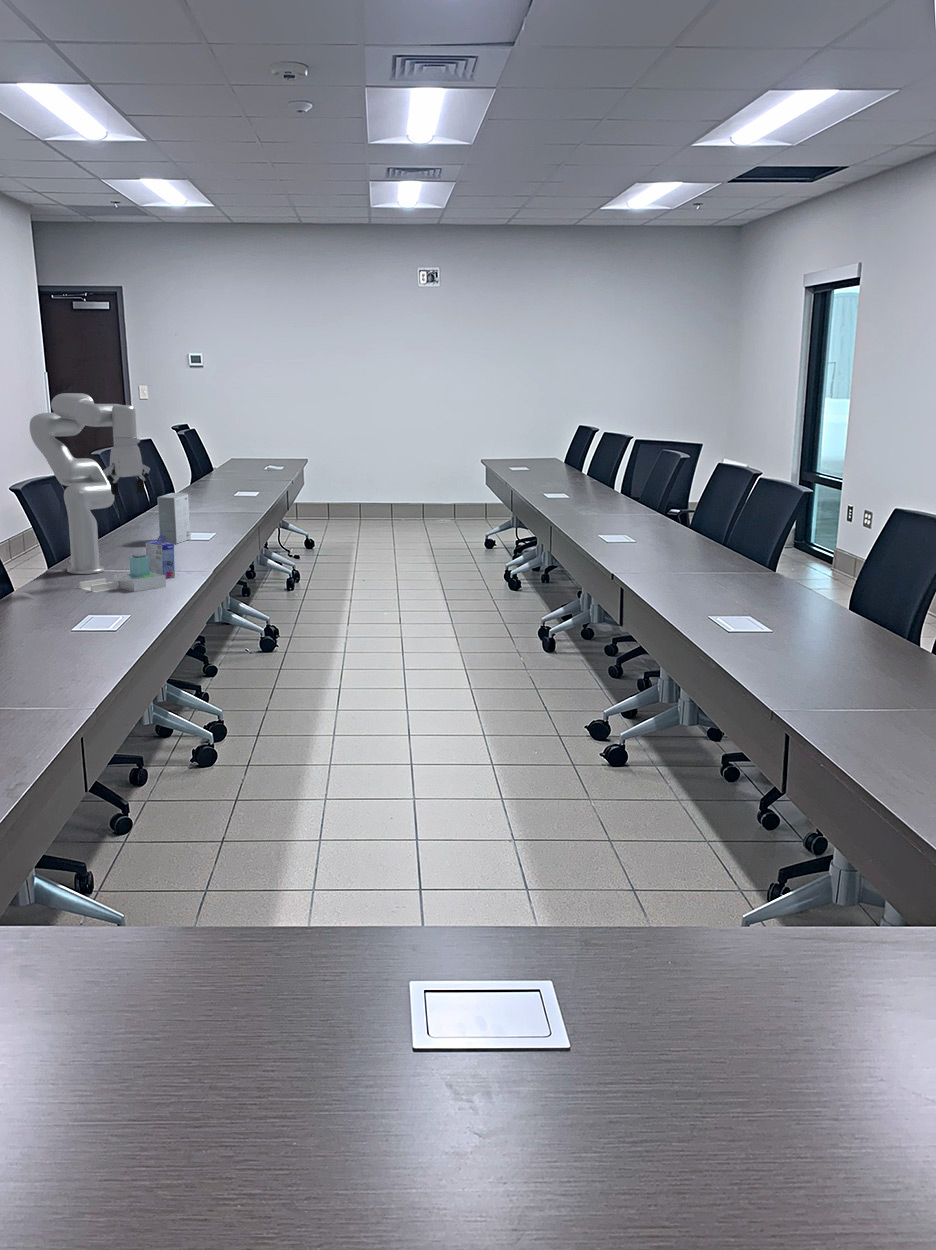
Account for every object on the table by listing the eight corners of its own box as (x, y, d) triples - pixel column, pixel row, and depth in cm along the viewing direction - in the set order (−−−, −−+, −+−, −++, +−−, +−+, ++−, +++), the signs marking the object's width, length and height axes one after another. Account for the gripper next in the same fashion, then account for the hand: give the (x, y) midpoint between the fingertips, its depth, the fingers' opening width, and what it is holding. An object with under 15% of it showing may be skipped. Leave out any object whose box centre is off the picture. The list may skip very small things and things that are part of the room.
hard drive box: (174, 538, 457) (172, 492, 452) (191, 539, 456) (189, 493, 451) (159, 543, 442) (157, 496, 437) (176, 544, 441) (174, 497, 436)
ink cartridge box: (176, 577, 372) (174, 536, 369) (163, 579, 368) (161, 538, 365) (158, 573, 378) (157, 533, 375) (145, 575, 374) (143, 535, 370)
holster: (78, 590, 346) (77, 581, 346) (103, 586, 353) (102, 578, 352) (94, 595, 340) (94, 586, 339) (119, 591, 347) (118, 582, 346)
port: (114, 589, 350) (113, 572, 348) (145, 584, 358) (144, 568, 357) (134, 594, 342) (133, 577, 341) (166, 589, 351) (165, 573, 350)
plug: (130, 586, 350) (129, 555, 347) (142, 584, 353) (141, 553, 351) (138, 588, 347) (136, 556, 344) (150, 586, 350) (148, 555, 348)
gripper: (141, 441, 361) (144, 491, 365) (95, 442, 348) (98, 494, 352) (154, 442, 357) (156, 492, 361) (108, 444, 344) (111, 496, 348)
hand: (128, 493), depth 356 cm, fingers open, 9 cm apart
